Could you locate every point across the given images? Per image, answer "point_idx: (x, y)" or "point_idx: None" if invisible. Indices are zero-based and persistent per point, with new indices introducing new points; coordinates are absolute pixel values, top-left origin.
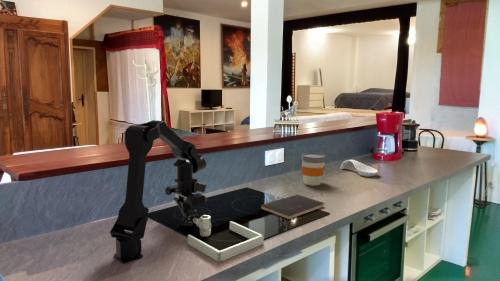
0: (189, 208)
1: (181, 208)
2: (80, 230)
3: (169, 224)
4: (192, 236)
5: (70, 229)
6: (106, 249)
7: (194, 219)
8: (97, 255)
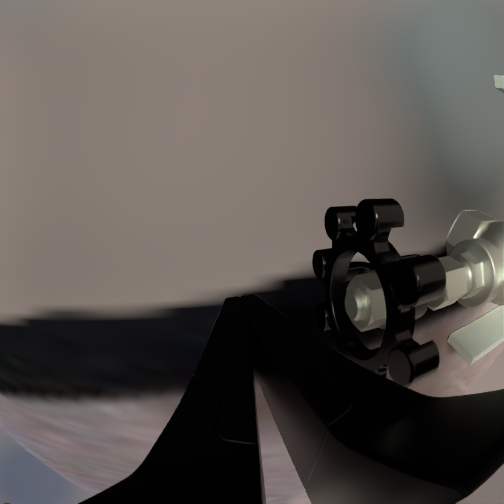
0: (338, 357)
1: (289, 447)
2: None
3: (186, 370)
4: (485, 350)
5: None
6: (278, 487)
7: (442, 305)
8: (293, 489)
